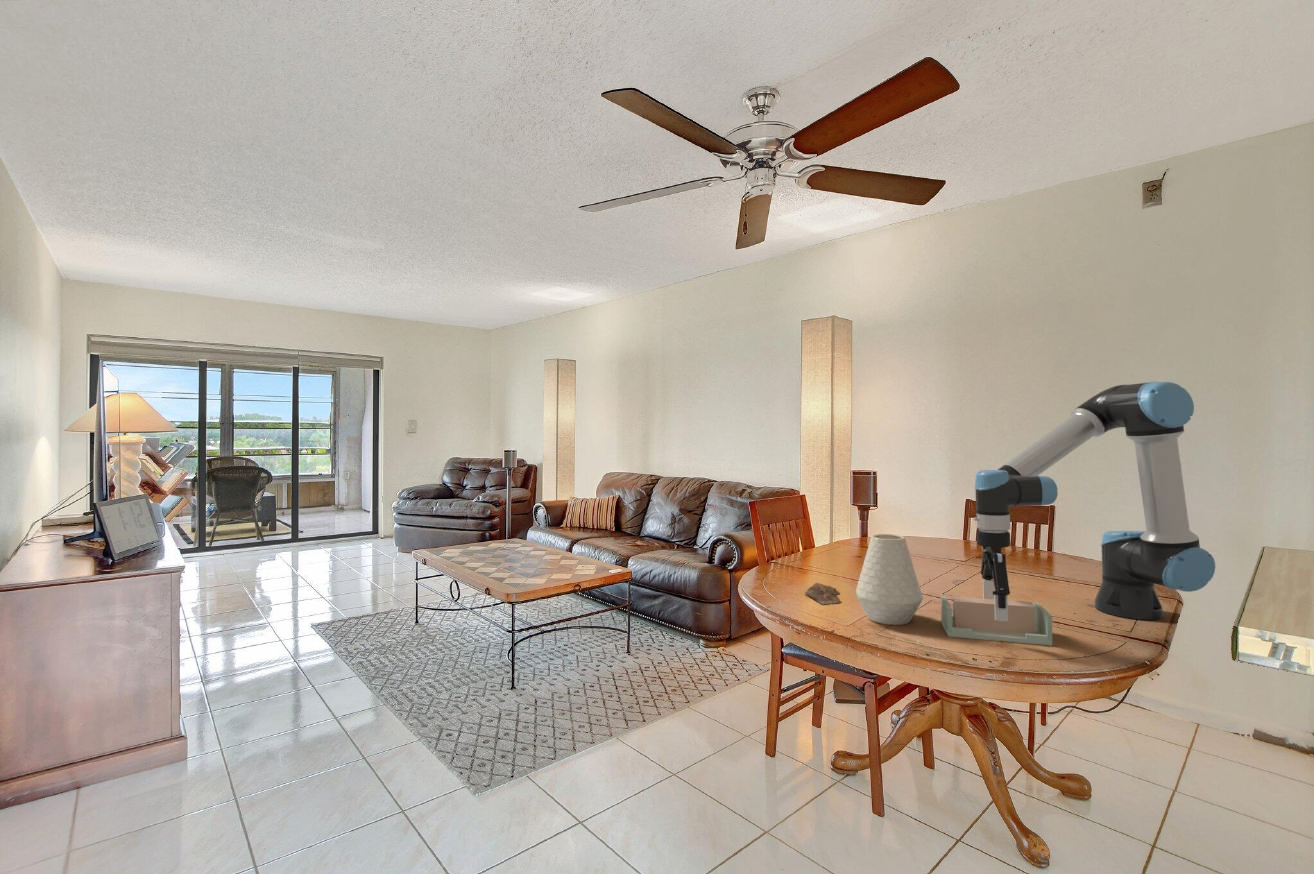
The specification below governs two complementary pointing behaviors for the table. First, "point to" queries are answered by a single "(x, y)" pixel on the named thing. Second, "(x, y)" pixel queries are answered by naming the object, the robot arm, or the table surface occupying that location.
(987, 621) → the pinkish tan rectangular block
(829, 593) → the wooden fragment
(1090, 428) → the robot arm
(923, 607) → the table surface
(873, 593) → the vase
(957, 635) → the tray
